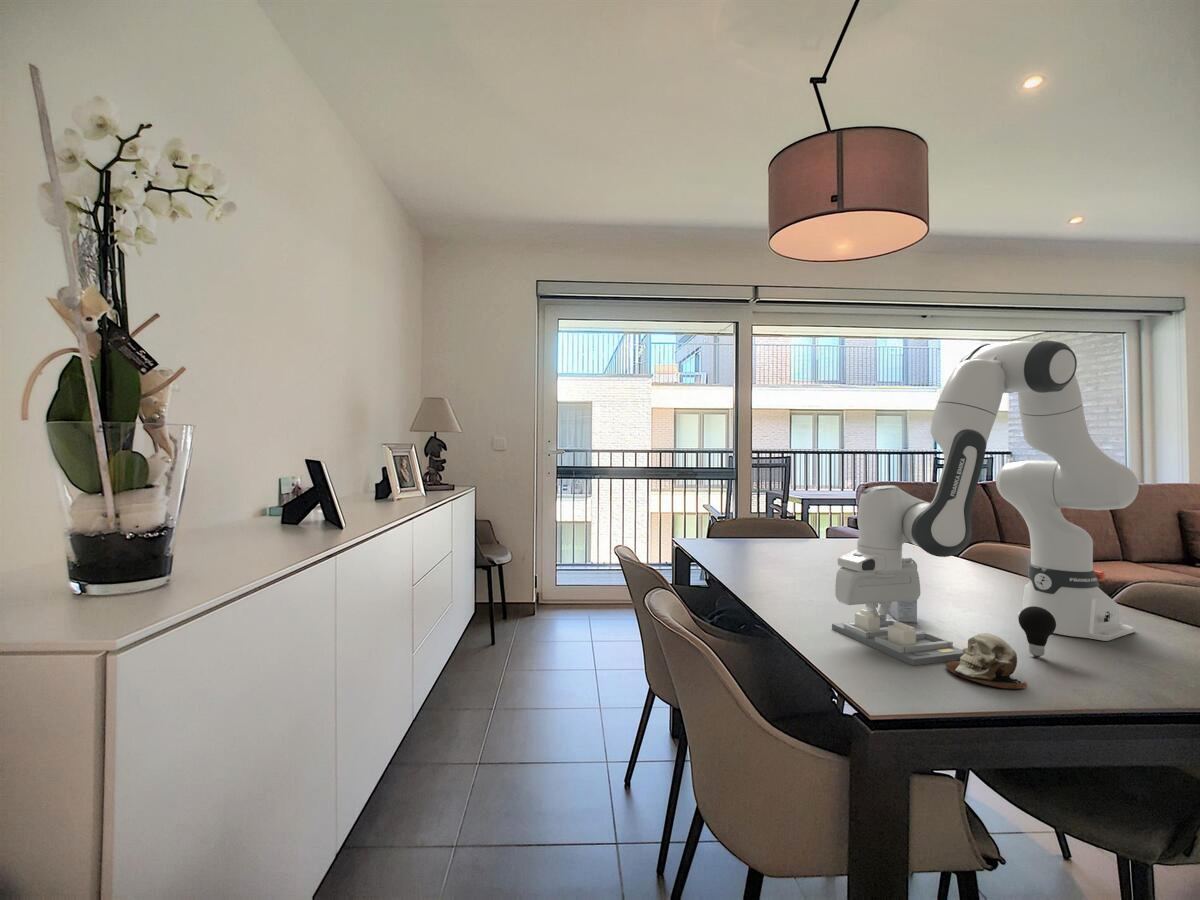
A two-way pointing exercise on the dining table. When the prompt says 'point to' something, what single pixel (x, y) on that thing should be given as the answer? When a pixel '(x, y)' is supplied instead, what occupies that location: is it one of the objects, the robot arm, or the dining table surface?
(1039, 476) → the robot arm
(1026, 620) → the light bulb
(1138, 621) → the dining table surface
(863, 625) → the tab
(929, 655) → the switch board
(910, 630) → the tab
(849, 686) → the dining table surface
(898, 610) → the medicine box
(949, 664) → the skull
